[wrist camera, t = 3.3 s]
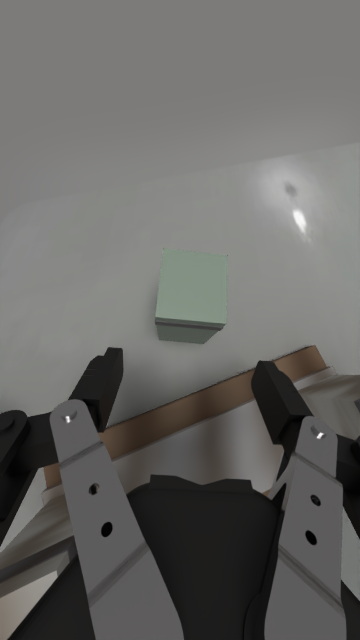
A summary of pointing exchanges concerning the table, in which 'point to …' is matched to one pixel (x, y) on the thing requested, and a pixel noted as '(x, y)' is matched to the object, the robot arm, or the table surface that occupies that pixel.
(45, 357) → the table surface
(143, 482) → the wooden block stand
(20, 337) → the table surface
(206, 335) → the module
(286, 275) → the table surface
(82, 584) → the robot arm
